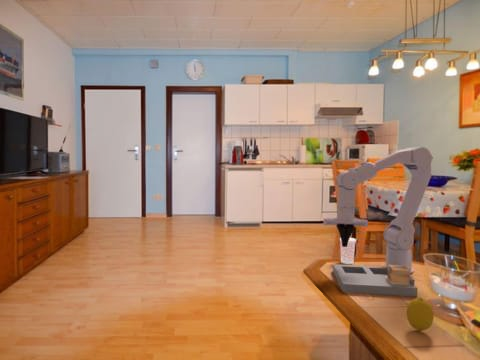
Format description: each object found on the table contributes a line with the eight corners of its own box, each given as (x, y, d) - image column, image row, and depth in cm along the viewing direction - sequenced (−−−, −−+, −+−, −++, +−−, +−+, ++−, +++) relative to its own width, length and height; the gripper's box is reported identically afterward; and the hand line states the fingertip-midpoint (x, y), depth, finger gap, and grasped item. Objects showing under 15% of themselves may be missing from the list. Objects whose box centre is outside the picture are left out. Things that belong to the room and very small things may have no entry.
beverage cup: (349, 265, 135) (350, 228, 134) (335, 261, 139) (336, 225, 138) (358, 262, 138) (360, 226, 137) (345, 259, 143) (346, 223, 142)
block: (387, 277, 114) (387, 264, 114) (403, 278, 114) (404, 265, 113) (392, 282, 109) (392, 269, 109) (409, 283, 109) (410, 270, 108)
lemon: (436, 338, 81) (437, 303, 80) (409, 335, 82) (411, 301, 81) (428, 327, 86) (430, 294, 85) (403, 324, 87) (404, 292, 87)
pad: (384, 276, 115) (384, 276, 115) (402, 277, 115) (402, 277, 115) (391, 284, 108) (391, 283, 108) (410, 285, 108) (410, 284, 108)
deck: (332, 271, 127) (333, 260, 127) (395, 274, 125) (395, 262, 125) (342, 292, 107) (343, 279, 107) (417, 296, 105) (417, 282, 105)
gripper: (325, 207, 121) (324, 248, 122) (370, 209, 119) (369, 250, 120) (323, 205, 128) (321, 243, 129) (365, 206, 126) (364, 244, 127)
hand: (344, 246), depth 125 cm, fingers closed
